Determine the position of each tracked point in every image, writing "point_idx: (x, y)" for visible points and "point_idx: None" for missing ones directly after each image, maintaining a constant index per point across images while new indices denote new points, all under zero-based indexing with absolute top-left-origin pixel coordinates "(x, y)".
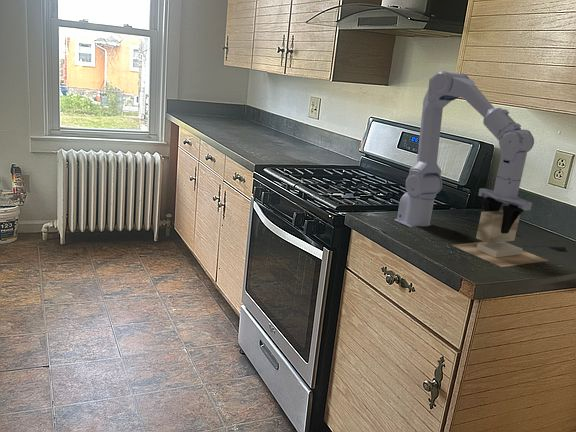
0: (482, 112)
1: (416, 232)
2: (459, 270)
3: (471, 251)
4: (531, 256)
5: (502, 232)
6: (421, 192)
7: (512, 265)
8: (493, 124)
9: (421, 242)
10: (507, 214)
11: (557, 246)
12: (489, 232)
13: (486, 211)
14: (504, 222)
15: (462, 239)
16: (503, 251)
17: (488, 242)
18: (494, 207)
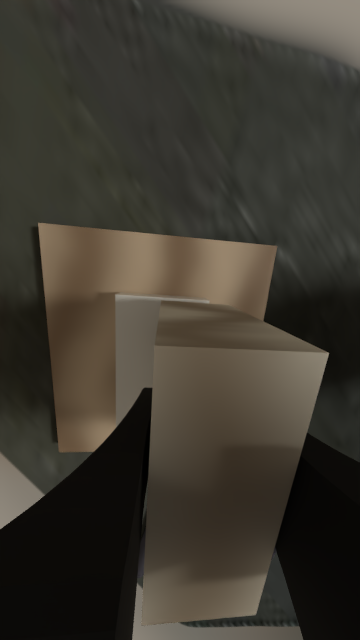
0: None
1: None
2: (91, 32)
3: (200, 262)
4: (100, 431)
5: (147, 389)
6: None
7: (45, 285)
8: None
9: (357, 192)
10: (72, 489)
11: (143, 563)
12: (169, 309)
13: (323, 451)
14: (130, 423)
15: None
16: (116, 332)
17: (162, 301)
18: (315, 552)
